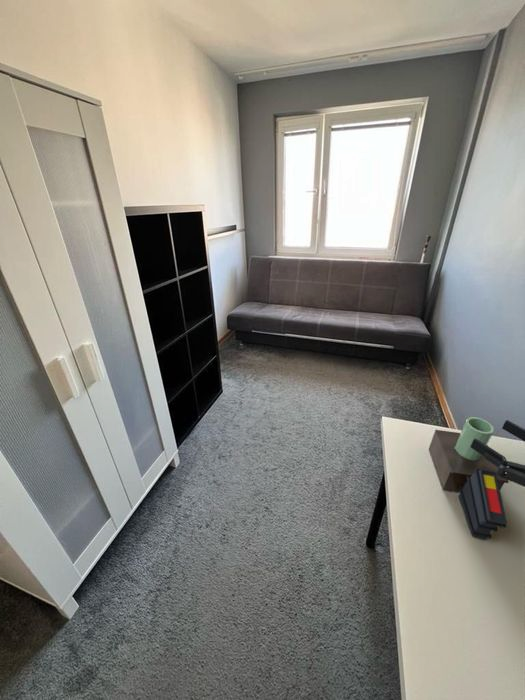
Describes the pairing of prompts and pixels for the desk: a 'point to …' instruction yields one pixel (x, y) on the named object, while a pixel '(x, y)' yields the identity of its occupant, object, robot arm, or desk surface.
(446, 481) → the case
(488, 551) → the desk surface
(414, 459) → the desk surface
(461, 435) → the pencil cup
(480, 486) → the black layered block
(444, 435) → the cover
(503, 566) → the desk surface
